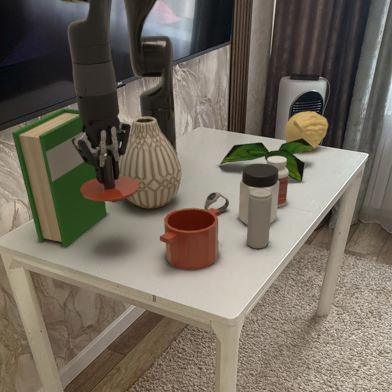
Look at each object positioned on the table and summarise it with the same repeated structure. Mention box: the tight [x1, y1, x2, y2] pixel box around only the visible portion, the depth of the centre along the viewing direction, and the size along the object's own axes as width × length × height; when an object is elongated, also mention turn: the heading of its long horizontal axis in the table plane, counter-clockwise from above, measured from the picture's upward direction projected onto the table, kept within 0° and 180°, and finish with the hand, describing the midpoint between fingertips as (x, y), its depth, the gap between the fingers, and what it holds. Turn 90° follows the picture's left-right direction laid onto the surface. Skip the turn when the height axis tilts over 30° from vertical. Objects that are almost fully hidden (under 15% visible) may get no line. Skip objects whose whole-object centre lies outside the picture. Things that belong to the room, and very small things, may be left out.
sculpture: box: [284, 110, 329, 152], centre depth 155 cm, size 11×12×11 cm
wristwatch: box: [204, 191, 230, 214], centre depth 124 cm, size 4×6×5 cm, turn 114°
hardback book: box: [11, 107, 108, 248], centre depth 113 cm, size 18×7×24 cm, turn 157°
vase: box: [118, 116, 182, 210], centre depth 124 cm, size 16×16×20 cm
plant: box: [219, 138, 316, 183], centre depth 142 cm, size 19×27×8 cm
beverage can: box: [246, 188, 272, 249], centre depth 109 cm, size 5×5×12 cm
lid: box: [80, 155, 139, 202], centre depth 103 cm, size 12×12×7 cm
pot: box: [159, 207, 221, 271], centre depth 107 cm, size 11×16×8 cm
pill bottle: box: [266, 156, 289, 208], centre depth 125 cm, size 6×6×11 cm
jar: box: [238, 163, 279, 226], centre depth 118 cm, size 9×8×12 cm
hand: (108, 180), depth 104 cm, fingers closed on lid, 2 cm apart
